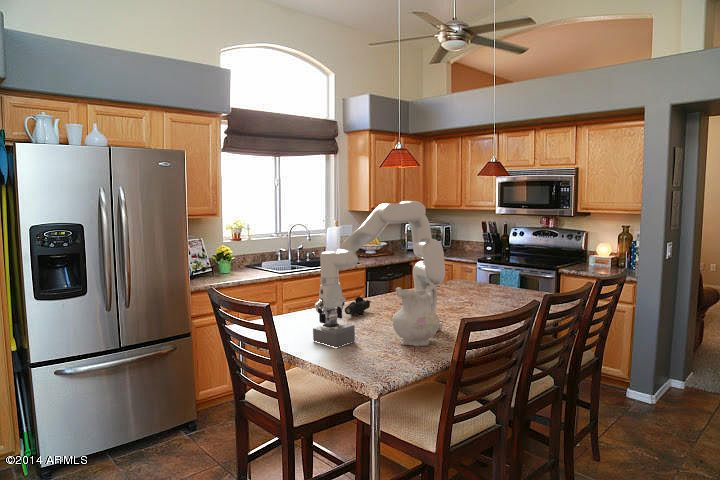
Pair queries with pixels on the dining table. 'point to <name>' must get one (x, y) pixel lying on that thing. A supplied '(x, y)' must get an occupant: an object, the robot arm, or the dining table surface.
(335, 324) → the lens
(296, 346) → the dining table surface
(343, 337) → the grey ring-socket block
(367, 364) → the dining table surface
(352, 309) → the night vision scope
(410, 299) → the ceramic pitcher
